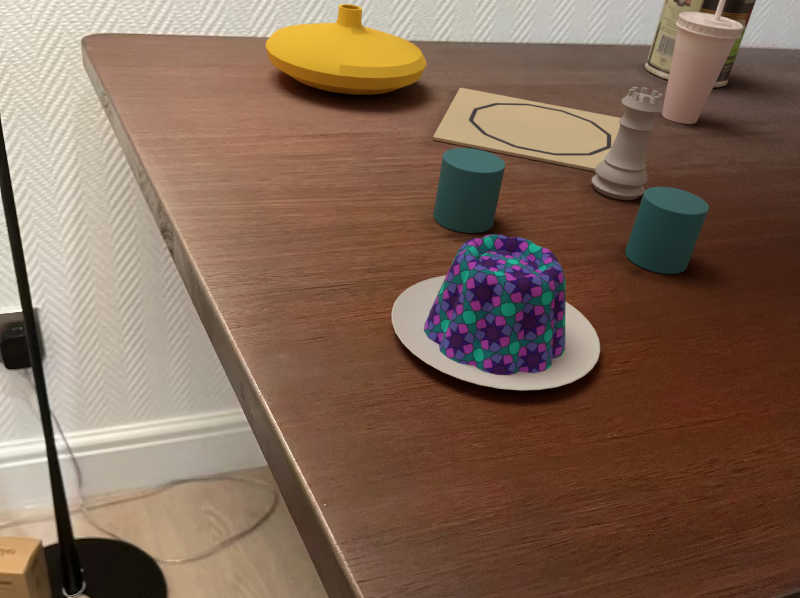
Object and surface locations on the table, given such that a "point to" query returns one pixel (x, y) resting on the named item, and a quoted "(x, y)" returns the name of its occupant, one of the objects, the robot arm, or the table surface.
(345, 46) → the vase
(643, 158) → the rook chess piece
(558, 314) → the pudding
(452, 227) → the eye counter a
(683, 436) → the table surface
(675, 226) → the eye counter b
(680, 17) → the smoothie
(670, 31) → the coffee can
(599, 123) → the sheet
